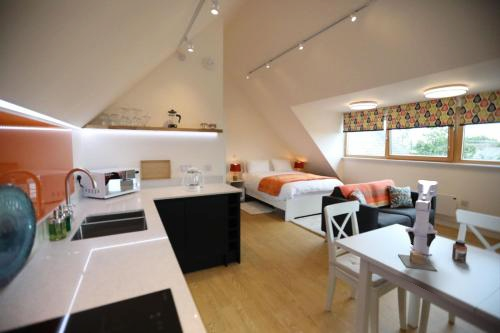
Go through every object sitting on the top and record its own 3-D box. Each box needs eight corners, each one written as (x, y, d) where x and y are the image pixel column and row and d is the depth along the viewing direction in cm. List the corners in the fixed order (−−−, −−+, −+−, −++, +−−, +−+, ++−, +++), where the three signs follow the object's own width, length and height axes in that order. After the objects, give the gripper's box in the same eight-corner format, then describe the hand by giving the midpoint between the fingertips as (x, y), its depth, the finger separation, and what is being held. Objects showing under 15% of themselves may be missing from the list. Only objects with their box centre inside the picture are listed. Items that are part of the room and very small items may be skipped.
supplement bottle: (451, 256, 137) (453, 238, 136) (465, 259, 133) (467, 240, 132) (451, 260, 132) (453, 241, 131) (466, 264, 128) (468, 244, 127)
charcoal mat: (398, 255, 139) (398, 254, 139) (425, 258, 135) (425, 257, 135) (406, 267, 126) (406, 266, 126) (437, 271, 122) (437, 270, 121)
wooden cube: (409, 258, 133) (410, 250, 133) (419, 260, 132) (420, 251, 131) (412, 263, 128) (413, 254, 128) (423, 264, 127) (424, 255, 126)
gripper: (409, 223, 127) (407, 246, 129) (441, 225, 123) (438, 250, 125) (404, 219, 134) (403, 241, 136) (434, 221, 130) (433, 244, 131)
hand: (420, 245), depth 130 cm, fingers open, 7 cm apart
